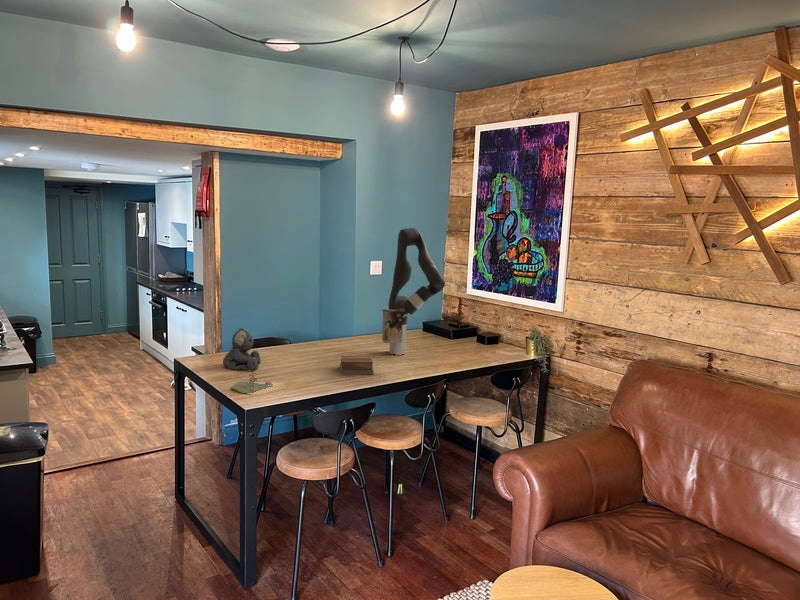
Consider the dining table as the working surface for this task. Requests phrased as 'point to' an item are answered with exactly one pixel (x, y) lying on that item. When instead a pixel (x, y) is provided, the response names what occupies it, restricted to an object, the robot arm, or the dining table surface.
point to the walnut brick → (356, 363)
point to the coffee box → (394, 333)
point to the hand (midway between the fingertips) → (389, 326)
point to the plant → (250, 386)
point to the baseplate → (356, 371)
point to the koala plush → (242, 352)
